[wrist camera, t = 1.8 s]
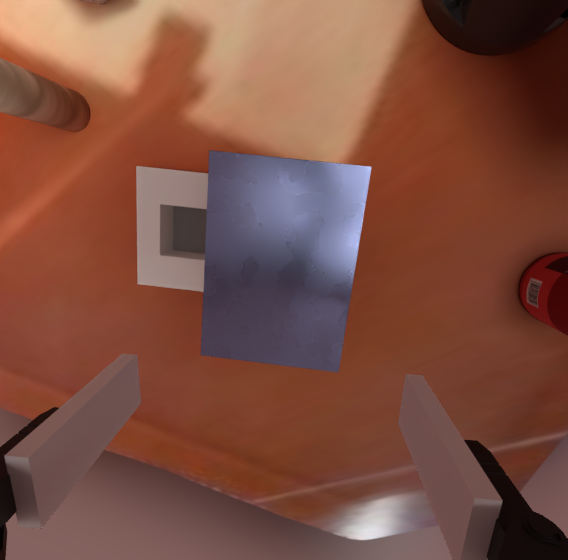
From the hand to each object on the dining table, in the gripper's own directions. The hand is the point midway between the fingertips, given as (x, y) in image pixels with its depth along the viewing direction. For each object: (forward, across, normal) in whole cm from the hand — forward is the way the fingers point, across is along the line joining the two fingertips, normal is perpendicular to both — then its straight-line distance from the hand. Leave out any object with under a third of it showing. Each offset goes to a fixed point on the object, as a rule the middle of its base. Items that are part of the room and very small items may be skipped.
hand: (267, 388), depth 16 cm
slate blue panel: (+23, 0, +4) cm, 23 cm away
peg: (+23, -24, +17) cm, 37 cm away
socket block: (+23, -9, +5) cm, 25 cm away
